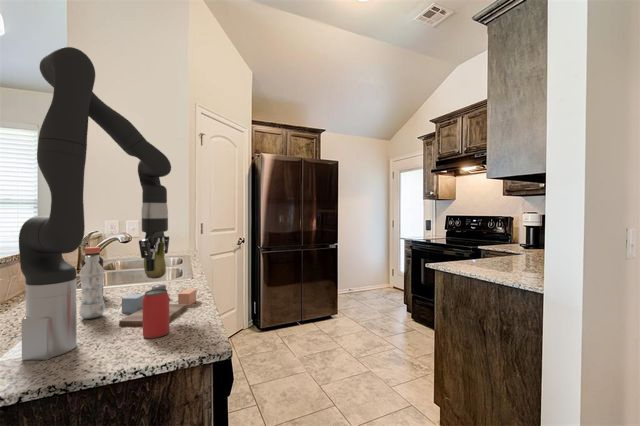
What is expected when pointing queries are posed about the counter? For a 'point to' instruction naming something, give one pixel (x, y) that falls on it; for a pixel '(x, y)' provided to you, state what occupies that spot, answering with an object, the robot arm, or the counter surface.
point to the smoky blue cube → (132, 303)
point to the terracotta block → (187, 297)
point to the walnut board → (137, 317)
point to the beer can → (155, 313)
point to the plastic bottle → (92, 288)
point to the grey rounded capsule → (159, 286)
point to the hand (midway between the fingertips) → (155, 269)
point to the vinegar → (93, 252)
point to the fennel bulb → (157, 264)
